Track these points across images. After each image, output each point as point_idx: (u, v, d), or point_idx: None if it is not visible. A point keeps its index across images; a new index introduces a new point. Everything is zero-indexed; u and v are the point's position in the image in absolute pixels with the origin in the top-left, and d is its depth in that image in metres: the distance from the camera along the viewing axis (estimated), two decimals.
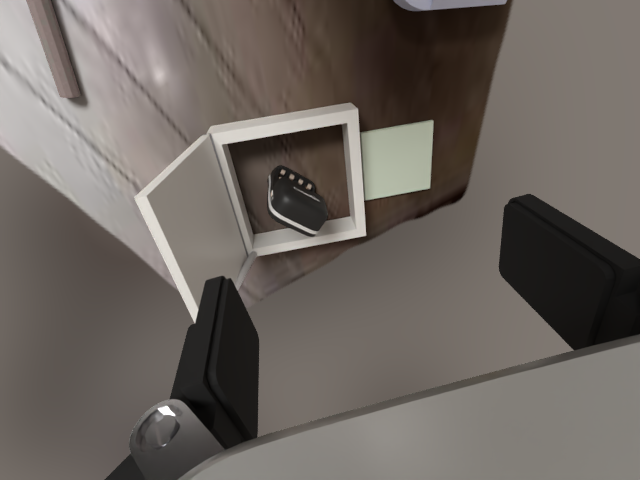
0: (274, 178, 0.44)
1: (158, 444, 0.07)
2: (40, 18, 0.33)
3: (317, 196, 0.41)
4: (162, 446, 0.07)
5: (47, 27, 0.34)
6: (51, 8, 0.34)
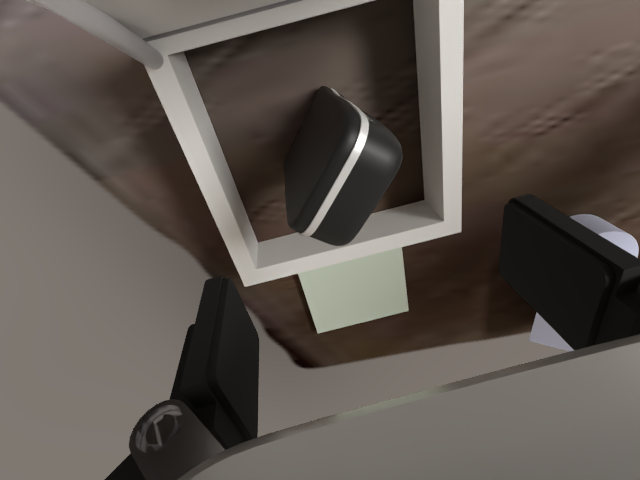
0: None
1: (158, 444, 0.07)
2: None
3: None
4: (163, 445, 0.07)
5: None
6: None
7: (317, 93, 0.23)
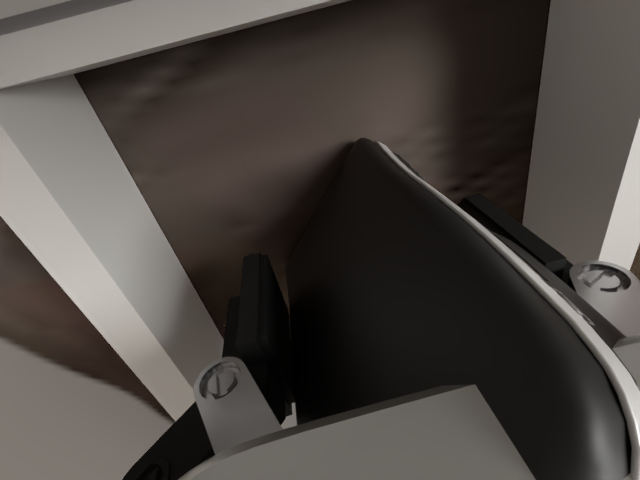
0: None
1: (217, 394, 0.07)
2: None
3: None
4: (221, 396, 0.07)
5: None
6: None
7: (352, 153, 0.12)
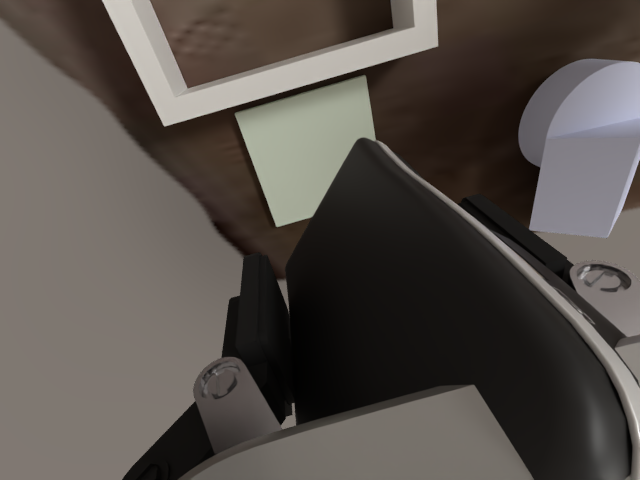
0: None
1: (217, 394, 0.07)
2: None
3: None
4: (221, 396, 0.07)
5: None
6: None
7: (352, 152, 0.12)
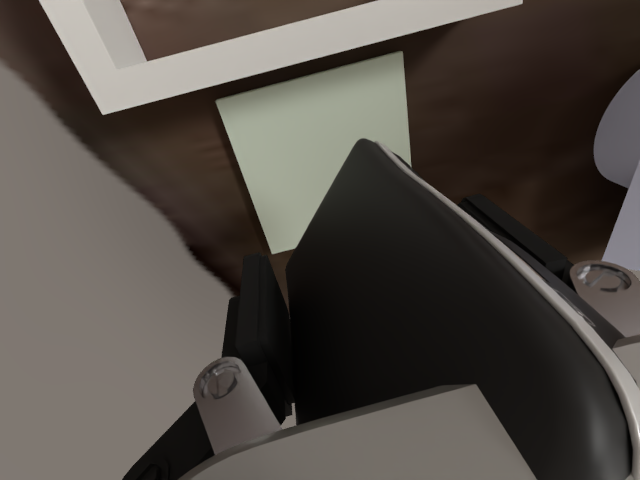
0: None
1: (217, 394, 0.07)
2: None
3: None
4: (221, 396, 0.07)
5: None
6: None
7: (352, 153, 0.12)
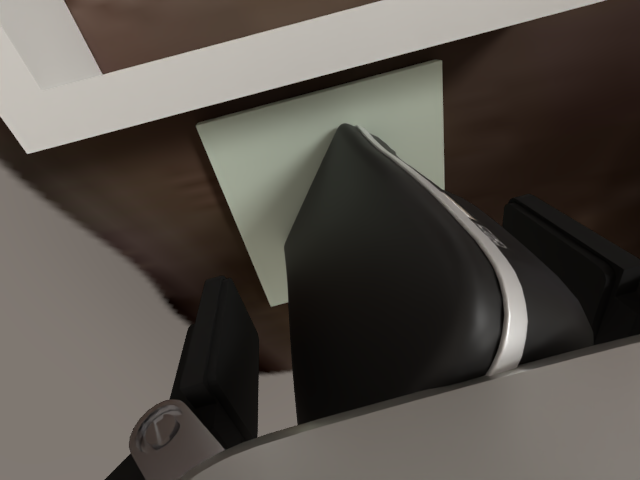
0: None
1: (158, 444, 0.07)
2: None
3: None
4: (163, 445, 0.07)
5: None
6: None
7: (335, 137, 0.13)
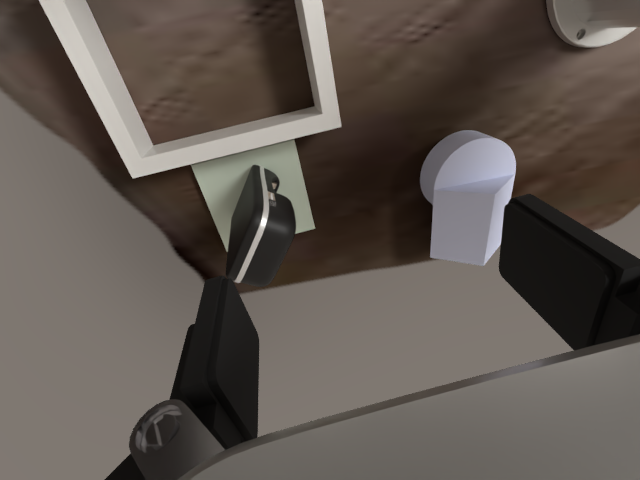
0: (270, 181, 0.30)
1: (158, 444, 0.07)
2: None
3: None
4: (163, 445, 0.07)
5: None
6: None
7: (250, 170, 0.32)
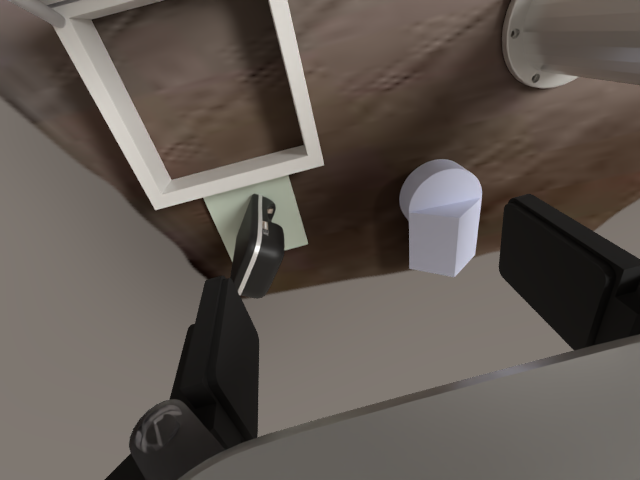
0: (267, 209, 0.37)
1: (158, 444, 0.07)
2: None
3: None
4: (163, 445, 0.07)
5: None
6: None
7: None
